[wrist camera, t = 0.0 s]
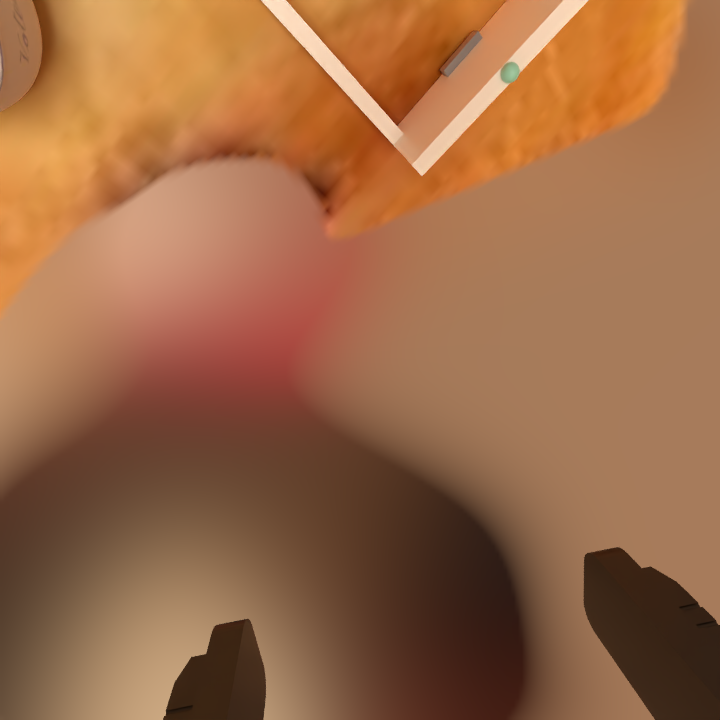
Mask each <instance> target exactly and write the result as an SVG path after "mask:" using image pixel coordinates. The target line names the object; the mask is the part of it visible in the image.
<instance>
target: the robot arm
mask: <svg viewBox="0 0 720 720" xmlns="http://www.w3.org/2000/svg"><path fill="white" fill-rule="evenodd" d="M584 607H585V611H586V615H587V617H588V620H589V622H590V624H591V626H592V628H593V630H594V632H595V633H596V635H597V636H598V638H599V639H600V641H601V642H602V643H603V645H604V646H605V648H606V649H607V650H608V652H609V654H610V655H611V656H612V658H613V659H614V661H615V662H616V664H617V665H618V667H619V668H620V669H621V671H622V672H623V674H624V675H625V677H626V678H627V680H628V681H629V683H630V684H631V685H632V687H633V688H634V690H635V691H636V693H637V694H638V696H639V697H640V698H641V700H642V701H643V703H644V704H645V706H646V707H647V709H648V710H649V711H650V713H651V714H652V716H653V717H654V719H655V720H720V625H718V624H717V622H716V620H715V619H714V618H713V617H712V616H711V615H710V614H709V613H708V612H707V611H706V610H705V609H704V608H703V607H700V606H699V605H698V602H697V601H696V600H695V599H694V598H693V597H692V596H691V595H690V594H689V593H688V592H687V591H686V590H684V588H682V587H681V586H680V585H679V584H678V583H677V582H676V581H674V580H673V579H671V578H669V577H667V576H666V575H664V574H662V573H661V572H659V571H657V570H656V569H654V568H652V567H647V568H641V567H640V566H639V565H638V564H637V563H636V562H635V561H634V560H633V559H632V558H631V557H630V556H629V555H628V554H627V553H626V552H625V551H624V550H623V549H621V548H618V547H616V548H611V549H606V550H601V551H596V552H591V553H587V554H586V555H585V557H584ZM265 698H266V679H265V671H264V665H263V662H262V658H261V655H260V651H259V648H258V644H257V641H256V637H255V634H254V631H253V627H252V624H251V622H250V620H249V619H244V620H239V621H234V622H229V623H224V624H219V625H216V626H215V627H214V629H213V631H212V634H211V638H210V642H209V646H208V649H207V653H206V654H205V655H200V656H195V657H191V659H190V660H189V662H188V663H187V665H186V666H185V668H184V669H183V671H182V672H181V674H180V675H179V677H178V678H177V680H176V681H175V683H174V687H173V690H172V693H171V696H170V699H169V702H168V706H167V709H166V716H164V718H163V720H263V717H264V708H265Z"/></svg>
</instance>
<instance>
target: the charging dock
mask: <svg viewBox="0 0 720 720" xmlns="http://www.w3.org/2000/svg"><path fill="white" fill-rule="evenodd" d="M261 1H262V2H263V3H264V4H265V5H266V6H267V7H268V9H269V10H270V11H271V12H272V13H273V14H274V15H275V16H276V17H277V18H278V19H279V21H280V22H281V23H282V24H283V25H284V26H285V27H286V28H287V29H288V30H289V31H290V33H291V34H292V35H293V36H294V37H295V38H296V39H297V40H298V41H299V42H300V44H301V45H302V46H303V47H304V48H305V49H306V50H307V51H308V52H309V53H310V54H311V56H312V57H313V58H314V59H315V60H316V61H317V62H318V63H319V64H320V65H321V67H322V68H323V69H324V70H325V71H326V72H327V73H328V74H329V75H330V76H331V77H332V79H333V80H334V81H335V82H336V83H337V84H338V85H339V86H340V87H341V88H342V89H343V91H344V92H345V93H346V94H347V95H348V96H349V97H350V98H351V99H352V100H353V102H354V103H355V104H356V105H357V106H358V107H359V108H360V109H361V110H362V111H363V112H364V114H365V115H366V116H367V117H368V118H369V119H370V120H371V121H372V122H373V123H374V125H375V126H376V127H377V128H378V129H379V130H380V131H381V132H382V133H383V134H384V135H385V137H386V138H387V139H388V140H389V141H390V142H391V143H392V144H393V145H394V146H395V147H396V149H397V150H398V151H399V152H400V153H401V154H402V155H403V156H404V157H405V158H406V159H407V161H408V162H409V163H410V164H411V165H412V166H413V167H414V168H415V169H416V170H417V171H418V173H419V174H420V175H421V176H423V175H424V174H425V173H426V172H427V171H428V169H429V168H430V167H431V166H432V165H433V164H434V163H435V162H436V161H437V160H438V159H439V158H440V157H441V156H442V155H443V154H444V153H445V151H446V150H447V149H448V148H449V147H450V146H451V145H452V144H453V143H454V142H455V141H456V140H457V139H458V138H459V137H460V136H461V135H462V133H463V132H464V131H465V130H466V129H467V128H468V127H469V126H470V125H471V124H472V123H473V122H474V121H475V120H476V119H477V118H478V117H479V116H480V114H481V113H482V112H483V111H484V110H485V109H486V108H487V107H488V106H489V105H490V104H491V103H492V102H493V101H494V100H495V99H496V98H497V96H498V95H499V94H500V93H501V92H502V91H503V90H504V89H505V88H506V87H507V86H508V85H509V84H510V83H512V82H514V81H515V80H516V79H517V78H518V76H519V73H520V72H521V71H522V70H523V69H524V68H525V67H526V66H527V65H528V64H529V63H530V62H531V60H532V59H533V58H534V57H535V56H536V55H537V54H538V53H539V52H540V51H541V50H542V49H543V48H544V47H545V46H546V45H547V44H548V42H549V41H550V40H551V39H552V38H553V37H554V36H555V35H556V34H557V33H558V32H559V31H560V30H561V29H562V28H563V27H564V26H565V24H566V23H567V22H568V21H569V20H570V19H571V18H572V17H573V16H574V15H575V14H576V13H577V12H578V11H579V10H580V9H581V8H582V7H583V5H584V4H585V3H586V2H587V1H588V0H507V1H506V2H505V3H504V4H503V5H502V6H501V7H500V9H499V10H498V11H497V12H496V13H495V14H494V15H493V17H492V18H491V19H490V20H489V21H488V22H487V23H486V25H485V26H484V27H483V28H482V29H481V30H480V32H479V31H472V33H471V34H470V35H469V36H468V37H467V38H466V39H465V41H464V42H463V43H462V44H461V45H460V46H459V48H458V49H457V50H456V51H455V52H454V53H453V54H452V56H451V57H450V58H449V59H448V60H447V61H446V63H445V64H444V65H443V66H442V67H441V68H440V71H441V73H442V75H441V76H440V77H439V79H438V80H437V81H436V82H435V83H434V84H433V85H432V87H431V88H430V89H429V90H428V91H427V92H426V93H425V95H424V96H423V97H422V98H421V99H420V100H419V102H418V103H417V104H416V105H415V106H414V107H413V108H412V110H411V111H410V112H409V113H408V114H407V115H406V116H405V118H404V119H403V120H402V121H401V122H400V123H399V124H398V126H396V125H395V123H394V122H393V121H392V120H391V119H390V118H389V117H388V115H387V114H386V113H385V112H384V111H383V110H382V109H381V108H380V106H379V105H378V104H377V103H376V102H375V101H374V100H373V98H372V97H371V96H370V95H369V94H368V93H367V92H366V91H365V89H364V88H363V87H362V86H361V85H360V84H359V83H358V81H357V80H356V79H355V78H354V77H353V76H352V75H351V73H350V72H349V71H348V70H347V69H346V68H345V67H344V66H343V64H342V63H341V62H340V61H339V60H338V59H337V58H336V56H335V55H334V54H333V53H332V52H331V51H330V50H329V49H328V47H327V46H326V45H325V44H324V43H323V42H322V41H321V39H320V38H319V37H318V36H317V35H316V34H315V33H314V32H313V30H312V29H311V28H310V27H309V26H308V25H307V24H306V22H305V21H304V20H303V19H302V18H301V17H300V16H299V15H298V13H297V12H296V11H295V10H294V9H293V8H292V7H291V5H290V4H289V3H288V2H287V1H286V0H261Z"/></svg>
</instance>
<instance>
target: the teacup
mask: <svg viewBox="0 0 720 720" xmlns="http://www.w3.org/2000/svg"><path fill="white" fill-rule="evenodd" d="M41 58H42V36H41V30H40V24H39V20H38V16H37V12H36V9H35V6H34V3H33V1H32V0H0V112H1V111H3V110H5V109H7V108H8V107H10V106H12V105H13V104H15V103H16V102H18V101H19V100H20V99H21V98H22V97H23V96H24V95H25V94H26V93H27V92H28V91H29V89H30V88H31V87H32V85H33V83H34V81H35V79H36V77H37V75H38V72H39V68H40V65H41Z"/></svg>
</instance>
